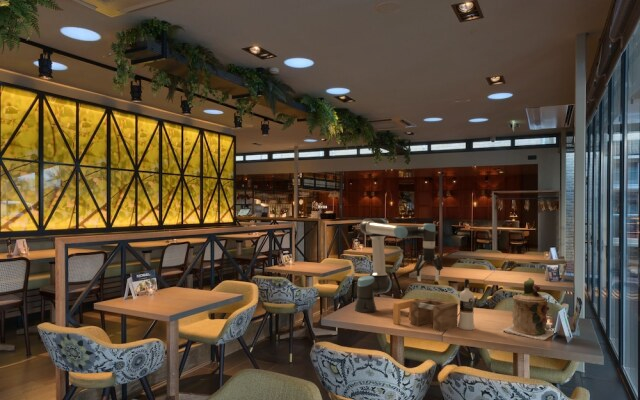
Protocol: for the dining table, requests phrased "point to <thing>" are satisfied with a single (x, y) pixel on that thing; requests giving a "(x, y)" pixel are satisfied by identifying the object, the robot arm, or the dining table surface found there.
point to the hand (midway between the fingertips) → (428, 280)
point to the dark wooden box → (434, 313)
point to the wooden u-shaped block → (398, 306)
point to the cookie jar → (530, 313)
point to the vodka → (466, 308)
